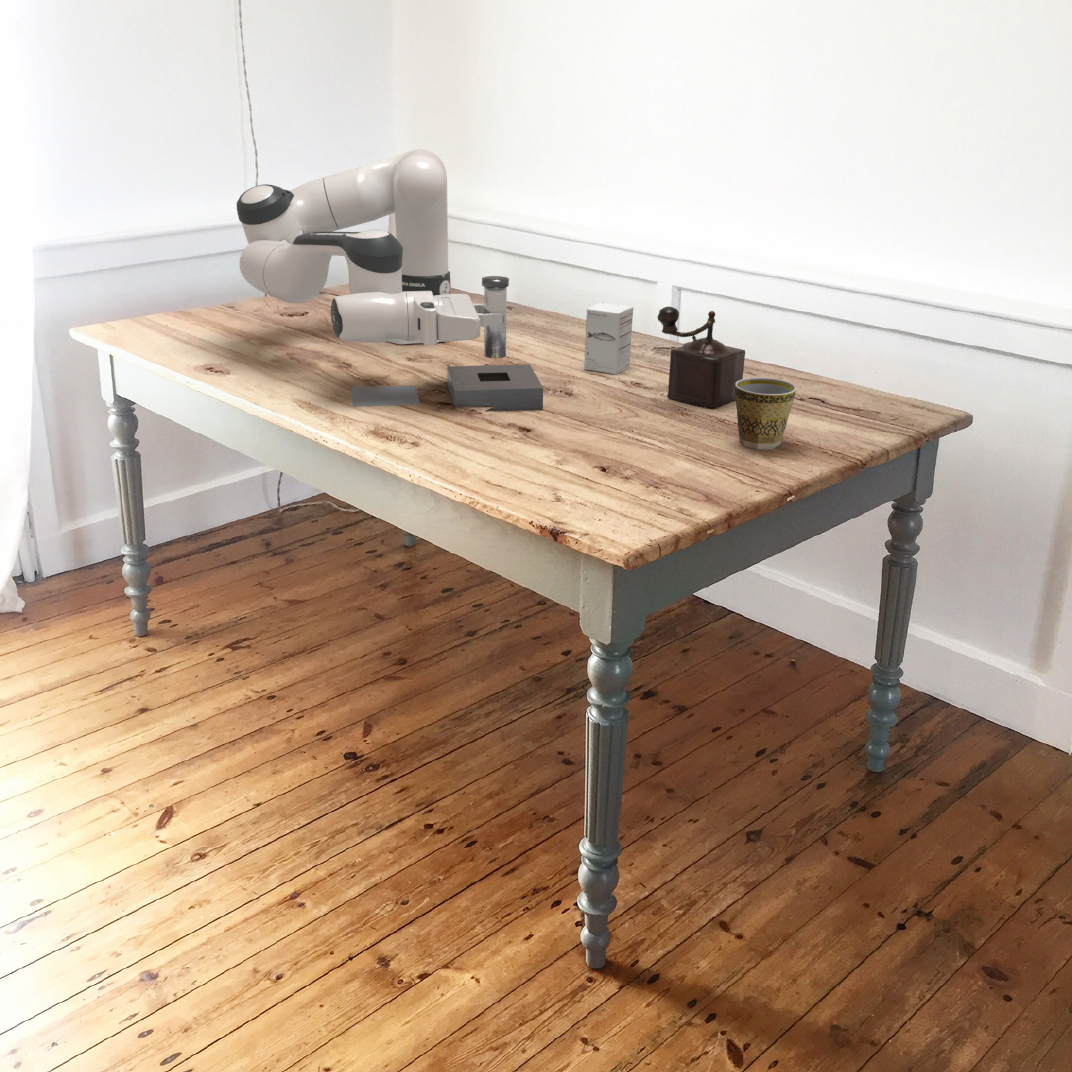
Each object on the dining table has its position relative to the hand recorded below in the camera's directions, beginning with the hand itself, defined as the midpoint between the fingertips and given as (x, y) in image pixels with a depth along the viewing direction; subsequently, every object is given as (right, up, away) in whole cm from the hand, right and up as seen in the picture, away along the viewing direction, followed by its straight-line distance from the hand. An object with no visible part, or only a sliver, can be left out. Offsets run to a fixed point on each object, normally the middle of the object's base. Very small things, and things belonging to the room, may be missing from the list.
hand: (500, 314), depth 207 cm
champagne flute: (-27, +18, +79) cm, 86 cm away
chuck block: (-1, -14, +6) cm, 16 cm away
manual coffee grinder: (+36, -15, +7) cm, 40 cm away
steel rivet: (-1, -7, +3) cm, 8 cm away
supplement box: (+21, -6, +26) cm, 34 cm away
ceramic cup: (+44, -24, -13) cm, 52 cm away
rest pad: (-21, -15, +3) cm, 26 cm away
